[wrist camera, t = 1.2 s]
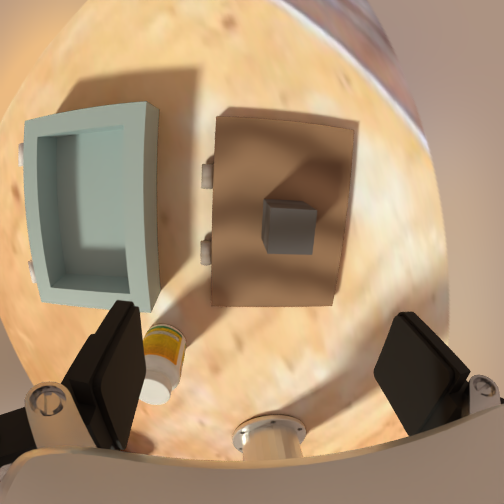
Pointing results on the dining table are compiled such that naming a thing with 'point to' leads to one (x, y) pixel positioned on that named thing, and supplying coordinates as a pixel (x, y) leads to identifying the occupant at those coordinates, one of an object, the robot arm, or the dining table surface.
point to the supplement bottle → (162, 363)
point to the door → (276, 211)
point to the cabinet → (93, 205)
